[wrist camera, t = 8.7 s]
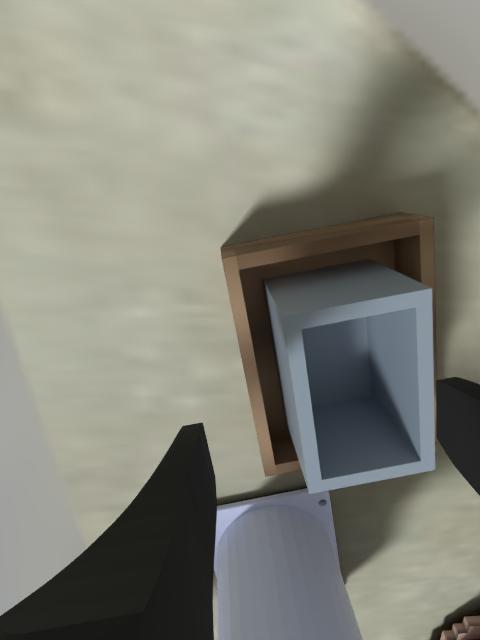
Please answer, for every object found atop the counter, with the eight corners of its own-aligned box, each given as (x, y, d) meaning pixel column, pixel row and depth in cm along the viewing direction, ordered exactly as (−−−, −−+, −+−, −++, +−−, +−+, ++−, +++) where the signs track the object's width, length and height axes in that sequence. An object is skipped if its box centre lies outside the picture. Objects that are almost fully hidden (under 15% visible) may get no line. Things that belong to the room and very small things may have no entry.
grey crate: (379, 397, 22) (435, 470, 17) (284, 415, 22) (309, 494, 17) (369, 258, 20) (432, 288, 14) (262, 278, 20) (282, 316, 14)
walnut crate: (406, 406, 24) (438, 443, 20) (258, 435, 24) (265, 476, 20) (397, 211, 20) (433, 217, 17) (220, 246, 20) (221, 258, 17)
